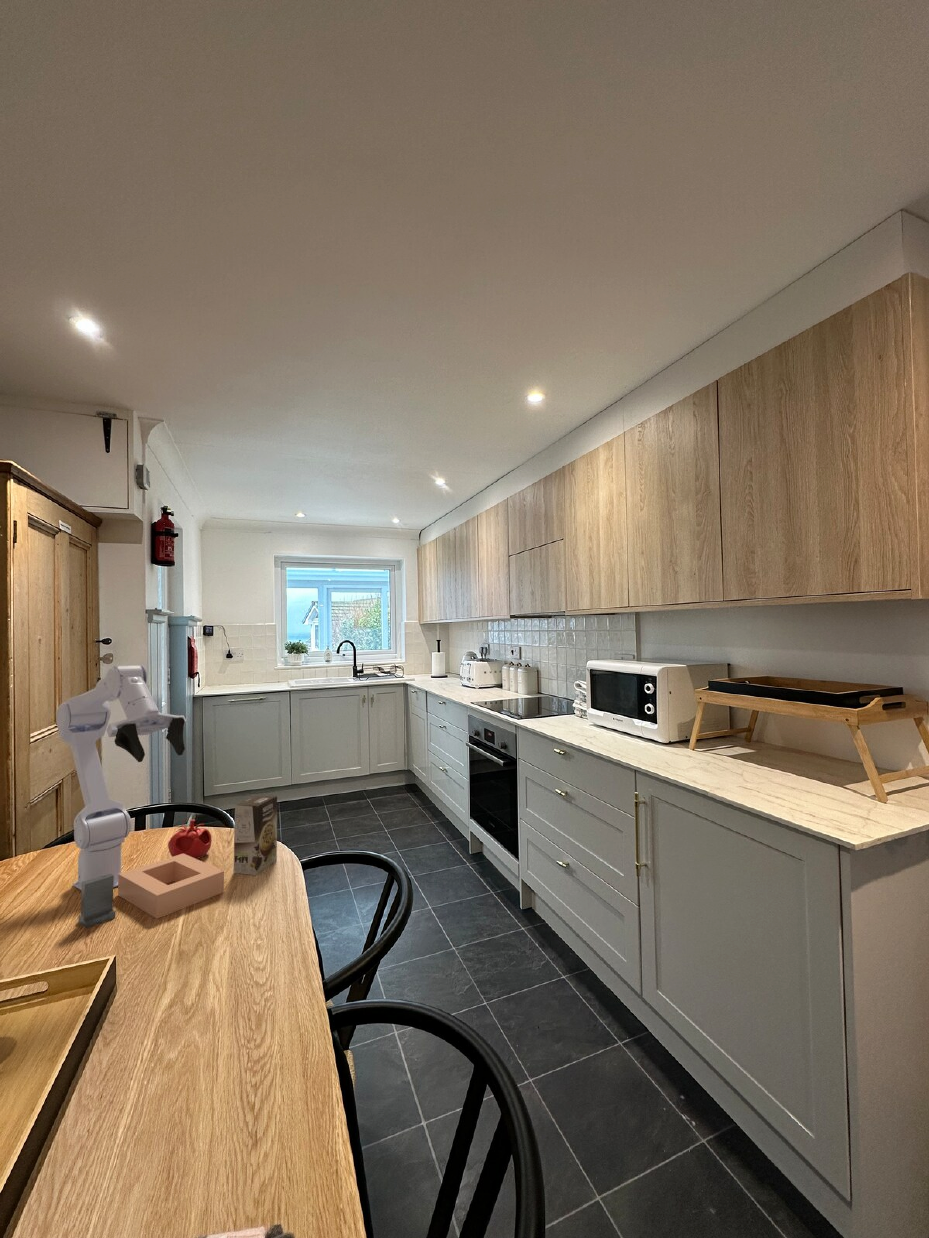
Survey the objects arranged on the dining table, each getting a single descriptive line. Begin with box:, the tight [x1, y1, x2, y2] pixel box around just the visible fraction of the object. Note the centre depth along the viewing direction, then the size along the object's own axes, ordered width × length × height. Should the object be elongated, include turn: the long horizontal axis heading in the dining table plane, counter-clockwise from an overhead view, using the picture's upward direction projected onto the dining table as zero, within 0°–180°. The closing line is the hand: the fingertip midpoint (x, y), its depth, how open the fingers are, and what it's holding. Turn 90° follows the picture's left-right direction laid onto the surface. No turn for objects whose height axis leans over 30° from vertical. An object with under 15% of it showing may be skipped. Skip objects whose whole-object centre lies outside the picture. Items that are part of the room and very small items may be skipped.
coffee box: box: [233, 795, 278, 876], centre depth 131 cm, size 9×6×16 cm
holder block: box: [117, 854, 225, 919], centre depth 117 cm, size 18×14×4 cm
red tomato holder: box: [167, 819, 213, 860], centre depth 138 cm, size 10×10×9 cm
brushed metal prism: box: [77, 874, 116, 930], centre depth 106 cm, size 4×5×8 cm
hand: (162, 755), depth 107 cm, fingers open, 7 cm apart
